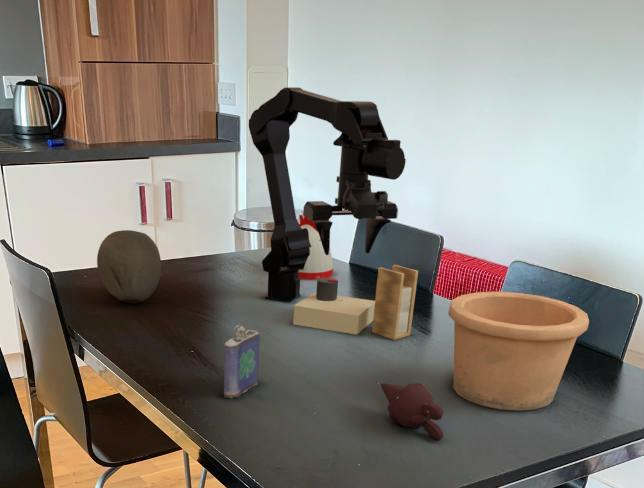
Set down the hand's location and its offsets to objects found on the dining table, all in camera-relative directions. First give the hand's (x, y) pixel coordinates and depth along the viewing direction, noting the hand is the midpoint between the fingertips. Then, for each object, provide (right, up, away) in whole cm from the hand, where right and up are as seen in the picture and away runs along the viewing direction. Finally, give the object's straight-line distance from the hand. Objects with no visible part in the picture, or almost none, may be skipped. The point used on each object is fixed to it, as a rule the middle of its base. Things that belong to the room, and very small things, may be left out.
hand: (347, 253), depth 163 cm
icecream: (+5, -40, -42) cm, 59 cm away
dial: (-4, -8, +4) cm, 10 cm away
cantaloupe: (-47, -7, +11) cm, 49 cm away
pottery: (+24, -33, -29) cm, 50 cm away
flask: (-21, -33, -32) cm, 50 cm away
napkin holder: (+9, -17, -3) cm, 20 cm away
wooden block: (-2, -13, +3) cm, 14 cm away
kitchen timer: (-7, +8, +39) cm, 41 cm away
